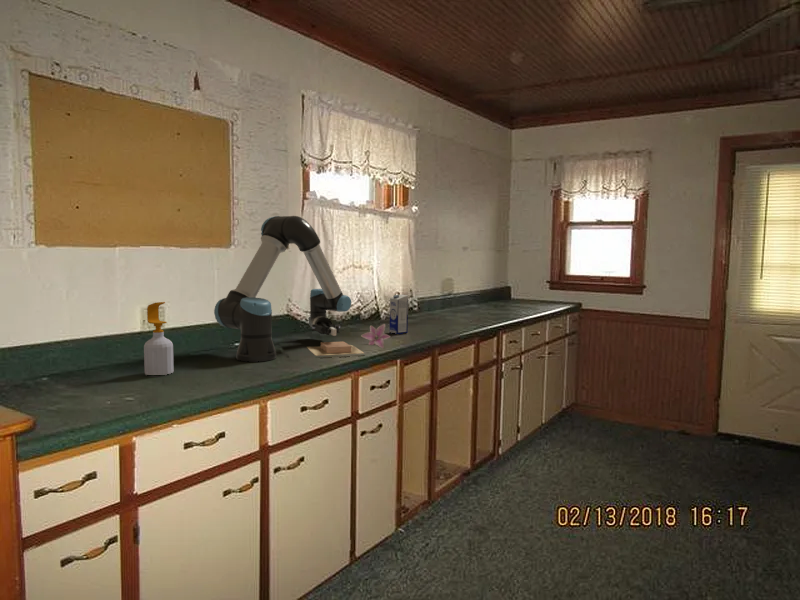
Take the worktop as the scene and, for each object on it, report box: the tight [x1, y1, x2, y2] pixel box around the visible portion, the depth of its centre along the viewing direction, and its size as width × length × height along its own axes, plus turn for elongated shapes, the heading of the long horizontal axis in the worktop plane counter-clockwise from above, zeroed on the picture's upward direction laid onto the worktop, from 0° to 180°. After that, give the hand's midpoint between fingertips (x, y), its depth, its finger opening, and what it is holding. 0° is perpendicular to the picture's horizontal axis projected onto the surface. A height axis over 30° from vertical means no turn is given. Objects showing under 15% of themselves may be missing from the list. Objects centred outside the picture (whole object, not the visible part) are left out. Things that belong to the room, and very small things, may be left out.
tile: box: [320, 341, 351, 354], centre depth 231 cm, size 10×3×12 cm
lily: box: [360, 323, 391, 349], centre depth 250 cm, size 12×12×10 cm
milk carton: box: [389, 294, 409, 335], centre depth 288 cm, size 7×7×20 cm
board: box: [306, 344, 365, 359], centre depth 233 cm, size 20×20×1 cm
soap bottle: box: [143, 301, 175, 376], centre depth 190 cm, size 9×9×25 cm
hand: (334, 332), depth 233 cm, fingers closed
